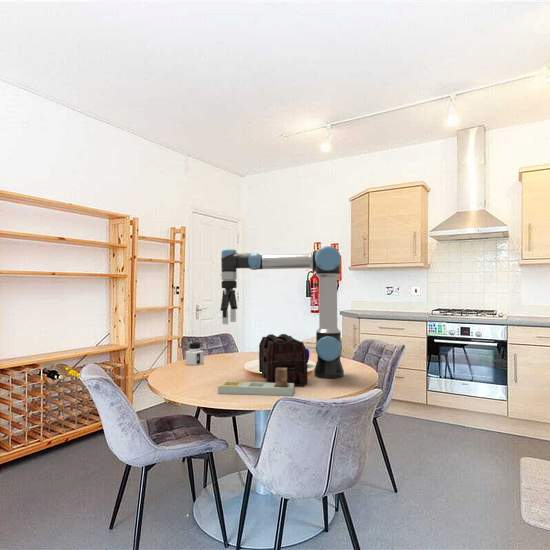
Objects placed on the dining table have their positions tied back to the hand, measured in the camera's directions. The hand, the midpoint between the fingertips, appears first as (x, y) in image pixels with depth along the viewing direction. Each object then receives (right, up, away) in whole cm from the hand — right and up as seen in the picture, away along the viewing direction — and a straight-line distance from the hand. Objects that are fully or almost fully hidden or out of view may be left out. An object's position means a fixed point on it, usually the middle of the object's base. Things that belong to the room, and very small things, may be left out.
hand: (229, 323), depth 197 cm
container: (-25, -30, +40) cm, 56 cm away
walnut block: (+26, -25, -27) cm, 45 cm away
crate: (+26, -28, -1) cm, 38 cm away
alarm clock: (+36, -29, +30) cm, 55 cm away
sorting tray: (+15, -27, -25) cm, 40 cm away
